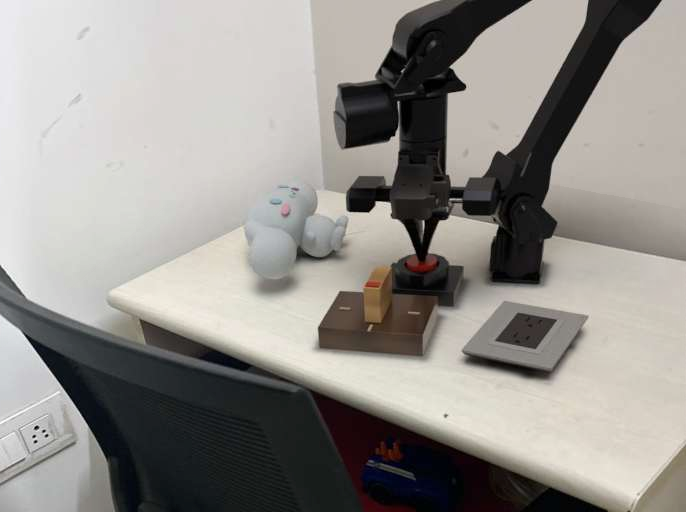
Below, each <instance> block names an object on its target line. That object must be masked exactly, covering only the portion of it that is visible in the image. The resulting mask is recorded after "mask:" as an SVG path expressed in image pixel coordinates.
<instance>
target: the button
mask: <svg viewBox="0 0 686 512" xmlns="http://www.w3.org/2000/svg"><path fill="white" fill-rule="evenodd" d="M435 268H437V258H436V257H435V256H432V255H428V254H427V257H426V260H425V261H418V258H417V255H414V256H411V257H409V258H408V259H407V269H409V270H412V271H420V272H424V271H429V270H433V269H435Z"/></svg>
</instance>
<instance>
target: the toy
mask: <svg viewBox="0 0 686 512" xmlns="http://www.w3.org/2000/svg"><path fill="white" fill-rule="evenodd" d="M318 204H319V197H318V193H317V191H316V189H315V188H314V187H313V185H311V183H309V182H308V181H306V180H302V179H292V180H289V181H287V182H286V183H284V184H278V185H277V187H276V188H273V189H270V190H268V191H265V192H263V193H262V194H260V195H259V196H257V197H255V198H254V199H253V200H251V202H250V203H249V205H248V206H247V207H246V209H245V212H244V215H243V216H244V217H243V231H244V236H245V239H246V242H247V245H248V247H249V251H248V252H249V253H248V256H249V263H250V266H251V268H252V270H253V271H254V272H255V274H257V275H258V276H261V277H262V278H265V279H267V280H279V279H282V278H285V277H286V276H287V275H289V273H290V272H291V271H292V270H293V268H294V267H295V263H296V260H297V252H298V251H297V250H298V248H299V247H300V249H302V250H303V252H305V253H306V254H307V255H310V256H311V257H315V258H323V257H327V256H329V254H332V252H333V251H339V250H341V248H342V246H343V243H344V238H345V236H346V233H347V228H348V223H349V217H348V216H346V215H345V214H344V215H343V214H342V215H340V216H339V217H338V218H337V219H336V221H334V220H333V219H332V218H331V217H329V216H326V215H323V214H316V211H317V209H318Z"/></svg>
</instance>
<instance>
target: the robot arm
mask: <svg viewBox="0 0 686 512" xmlns="http://www.w3.org/2000/svg"><path fill="white" fill-rule="evenodd" d="M532 1H533V0H436V1H433V2H430V3H428V4H425V5H422V6H421V7H418V8H416V9H413V10H411V11H409V12H406V13H405V14H404V15H403V16H402V17H400V18H399V20H398V21H397V23H396V24H395V26H394V31H393V34H392V40H391V46H390V48H389V50H388V51H387V53H386V55H385V56H384V59H383V60H382V62H381V63H380V65H379V67H378V69H377V71H376V73H375V74H374V80H373V79H372V80H365V81H361V82H341V83H338V84H337V86H336V89H337V92H336V93H337V96H335V102H334V111H333V113H332V114H333V124H334V126H333V127H334V132H335V136H336V141H337V144H338V146H339V148H340V150H342V151H344V150H349V149H355V148H356V149H357V148H362V147H368V146H373V145H380V144H385V143H386V144H387V143H389V142H390V141H391V139H392V138H394V137H396V135H397V131H398V151H397V166H396V169H395V172H394V175H393V180H392V185H387V179H386V178H385V176H384V175H358V176H357V177H356V179H354V181H353V182H352V183H351V185H350V186H349V188H348V189H347V191H346V193H345V194H346V195H345V208H346V211H347V212H349V213H359V214H361V213H362V214H364V213H365V214H366V213H367V214H369V213H370V212H371V211H373V209H374V208H375V207H376V205H377V202H379V203H381V202H382V203H384V202H385V203H390V208H391V209H390V210H391V213H390V214H389V216H390V218H391V219H392V220H397V221H399V222H400V223H401V224H402V225H403V227H404V229H405V230H406V232H407V234H408V236H409V239H410V242H411V244H412V247H413V250H414V252H415V253H414V254H416V255H417V258H418V261H425V260H426V257H427V254H428V253H429V250H430V248H431V245H432V242H433V239H434V236H435V233H436V230H437V227H438V225H439V224H440V222H441V221H443V222H444V221H447V220H448V219H449V218H450V215H451V213H452V212H453V209H454V207H455V204H461V209H462V211H464V213H465V214H466V215H467V216H474V217H476V216H477V217H490V218H491V220H492V222H493V223H495V224H497V225H498V226H497V229H496V232H495V235H494V236H493V237H492V240H491V243H490V252H489V253H490V255H489V270H488V271H489V272H490V273H491V276H490V281H491V282H492V283H493V282H494V283H508V284H509V283H511V284H528V285H529V284H533V285H539V284H540V283H541V280H542V275H543V270H544V263H545V262H544V254H545V253H544V252H545V244H546V240H549V239H552V237H553V235H554V234H555V231H556V229H557V226H558V224H559V223H558V221H557V220H556V219H555V218H554V217H553V216H552V215H551V214H550V213H549V212H548V211H547V210H546V209H545V208H544V207H543V205H544V202H545V200H546V197H547V195H548V192H549V191H550V184H551V176H552V170H553V164H554V162H555V160H556V157H557V156H558V154H559V152H560V151H561V149H562V147H563V145H564V143H565V142H566V140H567V138H568V136H569V135H570V133H571V131H572V129H574V126H575V124H576V123H577V121H578V119H579V117H580V116H581V114H582V112H583V111H584V109H585V107H586V105H587V103H588V102H589V100H590V98H591V96H592V95H593V93H594V91H595V90H596V88H597V86H598V84H599V82H600V81H601V79H602V77H603V76H604V74H605V73H606V70H607V69H608V67H609V65H610V64H611V62H612V60H613V58H614V57H615V55H616V53H617V52H618V49H619V48H620V46H621V44H622V43H623V42H624V41H625V40H626V39H627V38H629V36H630V35H632V34H633V33H634V32H635V31H637V30H638V29H639V28H640V27H641V26H642V25H643V24H644V23H646V22H647V21H648V20H649V19H650V17H651V16H652V15H653V13H655V11H656V9H658V7H659V6H660V4H661V3H662V1H663V0H587V7H586V13H585V14H586V15H585V20H584V22H583V23H584V24H583V26H582V28H581V30H580V32H579V33H578V35H577V36H576V39H575V41H574V42H573V44H572V46H571V48H570V49H569V51H568V53H567V55H566V57H565V59H564V61H563V63H562V65H561V66H560V67H559V70H558V72H557V74H556V76H555V77H554V79H553V81H552V83H551V84H550V86H549V89H548V90H547V92H546V94H545V96H544V98H543V100H542V101H541V103H540V105H539V107H538V109H537V110H536V112H535V114H534V116H533V118H532V119H531V122H530V123H529V125H528V126H527V128H526V131H525V133H524V134H523V136H522V138H521V140H520V141H519V143H518V144H517V145H516V146H515V147H514V148H513V149H511V150H510V151H508V152H507V153H506V154H504V153H503V152H502V151H500V150H497V151H496V152H495V153H494V154H493V157H492V160H491V162H490V165H489V167H488V169H487V170H486V171H485V173H484V174H483V175H482V176H481V177H480V176H478V177H477V176H471V177H468V180H467V182H466V184H465V186H452V184H451V177H450V175H449V174H447V157H448V156H447V155H448V154H447V152H448V151H447V150H448V117H449V116H448V113H449V112H448V111H449V110H448V109H449V108H448V107H449V94H454V93H459V92H464V91H466V90H467V84H466V83H465V82H463V81H462V80H461V79H460V78H459V77H458V76H457V73H456V72H455V70H454V69H453V68H452V67H451V66H453V65H454V64H455V63H456V62H457V61H458V60H460V59H461V58H462V56H464V55H465V54H466V53H467V52H468V50H469V49H470V48H471V47H472V45H473V43H475V41H476V40H477V38H478V37H480V36H481V35H482V34H483V33H484V32H485V31H486V30H487V29H489V28H491V27H492V26H494V25H496V24H497V23H498V22H500V21H502V20H504V19H505V18H507V17H508V16H510V15H511V14H513V13H515V12H516V11H518V10H519V9H521V8H523V7H524V6H526V5H527V4H529V3H530V2H532Z"/></svg>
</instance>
